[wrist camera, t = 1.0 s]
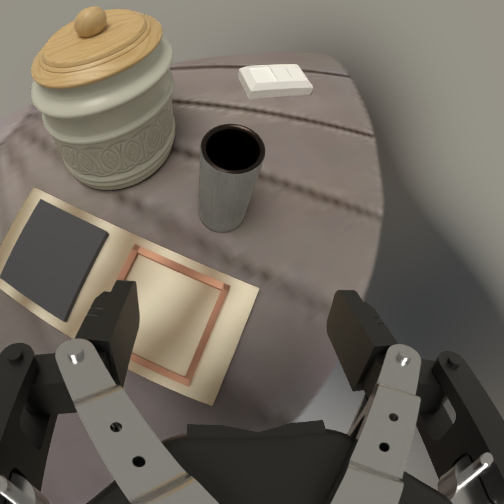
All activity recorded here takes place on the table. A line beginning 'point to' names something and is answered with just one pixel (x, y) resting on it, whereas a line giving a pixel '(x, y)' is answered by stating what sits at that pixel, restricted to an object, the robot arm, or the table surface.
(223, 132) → the grey tumbler
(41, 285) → the pad
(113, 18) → the jar
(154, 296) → the board
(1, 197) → the table surface
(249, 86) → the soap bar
